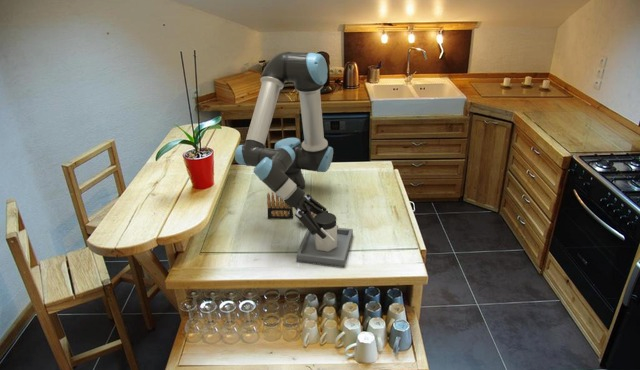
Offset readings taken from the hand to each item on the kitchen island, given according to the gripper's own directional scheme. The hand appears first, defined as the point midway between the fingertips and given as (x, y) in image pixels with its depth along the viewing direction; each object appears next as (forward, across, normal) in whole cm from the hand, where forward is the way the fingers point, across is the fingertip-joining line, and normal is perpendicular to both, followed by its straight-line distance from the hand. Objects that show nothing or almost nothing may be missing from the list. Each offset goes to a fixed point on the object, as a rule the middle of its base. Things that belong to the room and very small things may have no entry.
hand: (334, 235), depth 169 cm
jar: (+1, 0, -6) cm, 6 cm away
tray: (+2, 0, -7) cm, 7 cm away
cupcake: (-6, -16, -15) cm, 22 cm away
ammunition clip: (-14, -18, -23) cm, 33 cm away
